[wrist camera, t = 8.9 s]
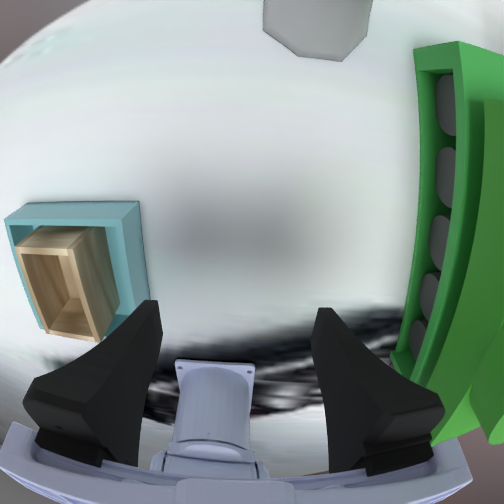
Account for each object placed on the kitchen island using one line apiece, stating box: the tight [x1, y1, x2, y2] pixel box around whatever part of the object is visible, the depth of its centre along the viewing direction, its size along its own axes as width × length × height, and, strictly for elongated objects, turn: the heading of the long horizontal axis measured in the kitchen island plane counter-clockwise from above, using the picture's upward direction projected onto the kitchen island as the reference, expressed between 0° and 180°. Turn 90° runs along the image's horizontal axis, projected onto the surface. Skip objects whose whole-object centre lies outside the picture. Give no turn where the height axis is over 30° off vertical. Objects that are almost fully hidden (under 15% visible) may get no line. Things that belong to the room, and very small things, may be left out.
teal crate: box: [4, 201, 150, 340], centre depth 22 cm, size 11×11×4 cm
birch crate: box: [15, 225, 120, 343], centre depth 20 cm, size 6×8×5 cm
